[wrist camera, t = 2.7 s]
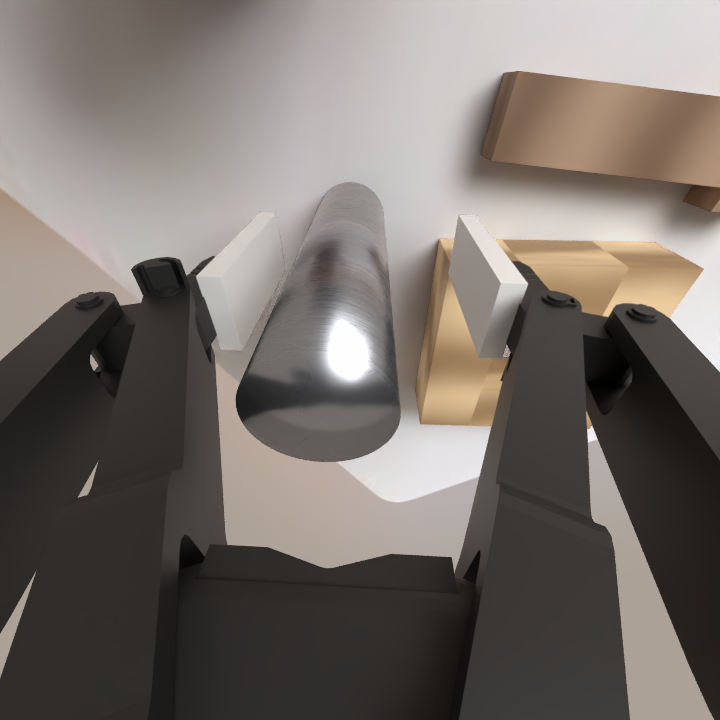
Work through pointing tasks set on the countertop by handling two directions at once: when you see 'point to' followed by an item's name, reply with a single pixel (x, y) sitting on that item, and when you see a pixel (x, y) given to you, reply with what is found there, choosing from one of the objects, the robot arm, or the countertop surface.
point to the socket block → (559, 273)
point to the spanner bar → (609, 131)
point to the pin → (329, 341)
